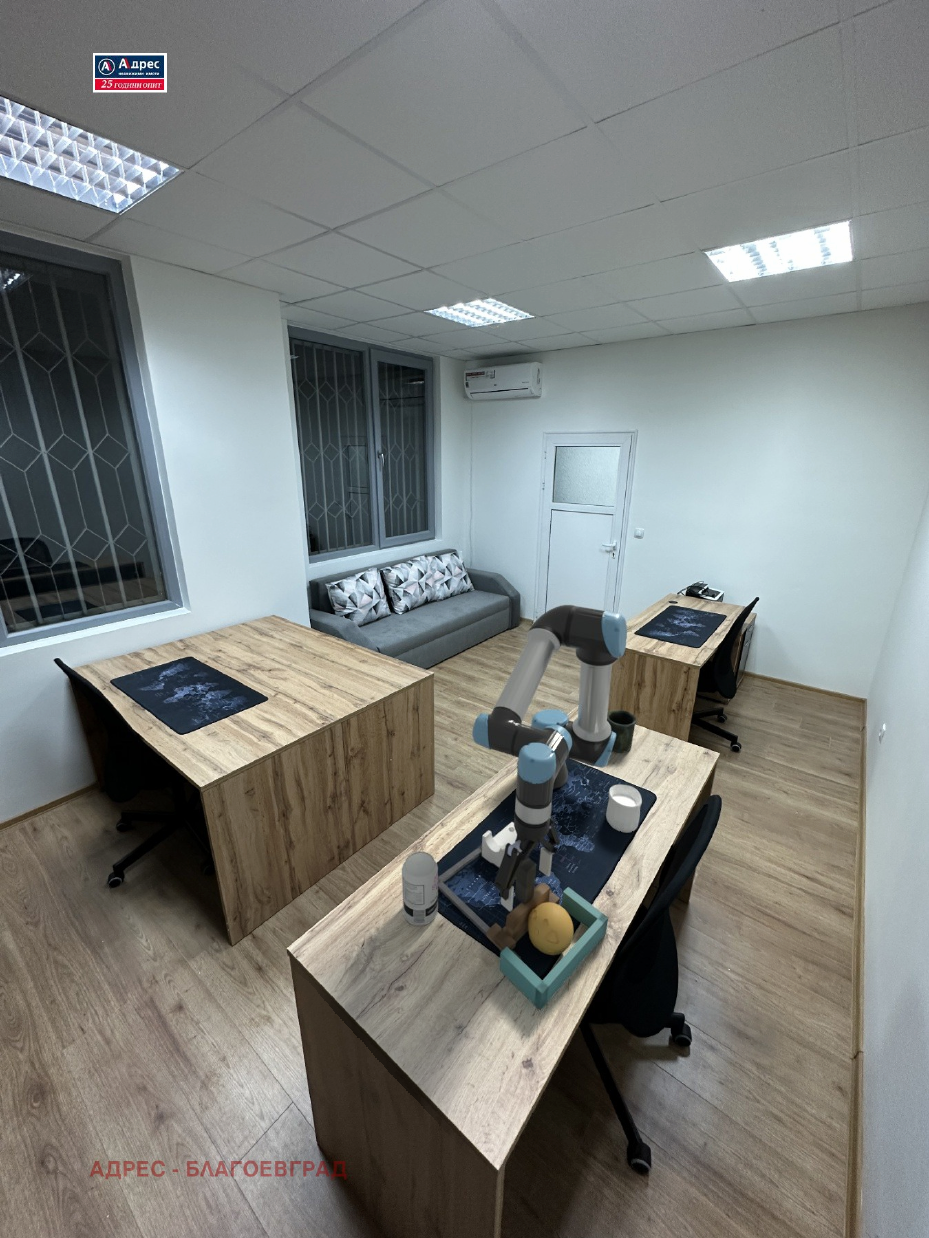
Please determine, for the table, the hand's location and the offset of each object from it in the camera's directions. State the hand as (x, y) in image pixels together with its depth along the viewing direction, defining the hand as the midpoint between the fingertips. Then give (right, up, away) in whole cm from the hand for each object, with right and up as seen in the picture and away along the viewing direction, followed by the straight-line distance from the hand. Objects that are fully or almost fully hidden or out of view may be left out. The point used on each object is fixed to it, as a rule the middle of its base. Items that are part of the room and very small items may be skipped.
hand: (526, 888), depth 111 cm
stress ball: (+5, -12, -1) cm, 13 cm away
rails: (-6, -8, +9) cm, 14 cm away
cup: (+33, +1, +35) cm, 48 cm away
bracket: (-2, -3, +24) cm, 25 cm away
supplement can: (-25, -9, +6) cm, 27 cm away
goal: (+6, -12, -3) cm, 14 cm away
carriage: (0, -10, +3) cm, 10 cm away
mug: (+44, +14, +73) cm, 87 cm away
